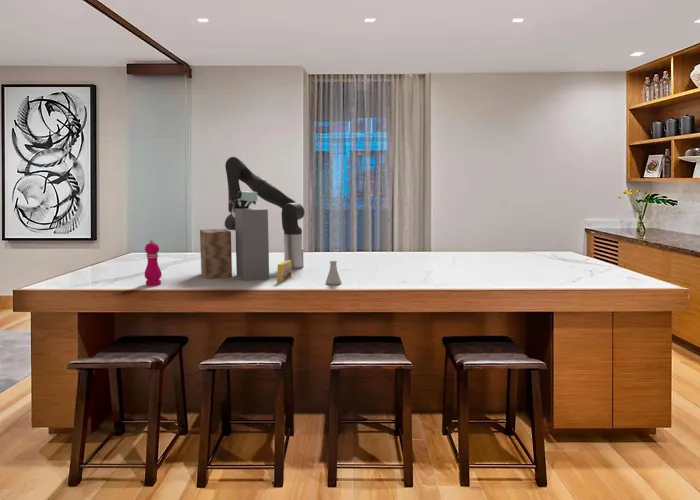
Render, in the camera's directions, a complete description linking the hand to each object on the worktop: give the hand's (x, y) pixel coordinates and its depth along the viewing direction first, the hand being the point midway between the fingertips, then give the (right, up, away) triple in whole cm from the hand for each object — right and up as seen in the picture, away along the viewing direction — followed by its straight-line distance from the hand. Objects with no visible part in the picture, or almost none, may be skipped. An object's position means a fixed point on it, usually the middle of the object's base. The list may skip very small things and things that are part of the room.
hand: (245, 192), depth 313 cm
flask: (+43, -43, -25) cm, 65 cm away
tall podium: (+4, -40, -6) cm, 41 cm away
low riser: (-14, -40, 0) cm, 42 cm away
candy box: (+20, -41, -14) cm, 48 cm away
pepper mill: (-37, -43, -24) cm, 61 cm away
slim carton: (+2, -4, -4) cm, 6 cm away
